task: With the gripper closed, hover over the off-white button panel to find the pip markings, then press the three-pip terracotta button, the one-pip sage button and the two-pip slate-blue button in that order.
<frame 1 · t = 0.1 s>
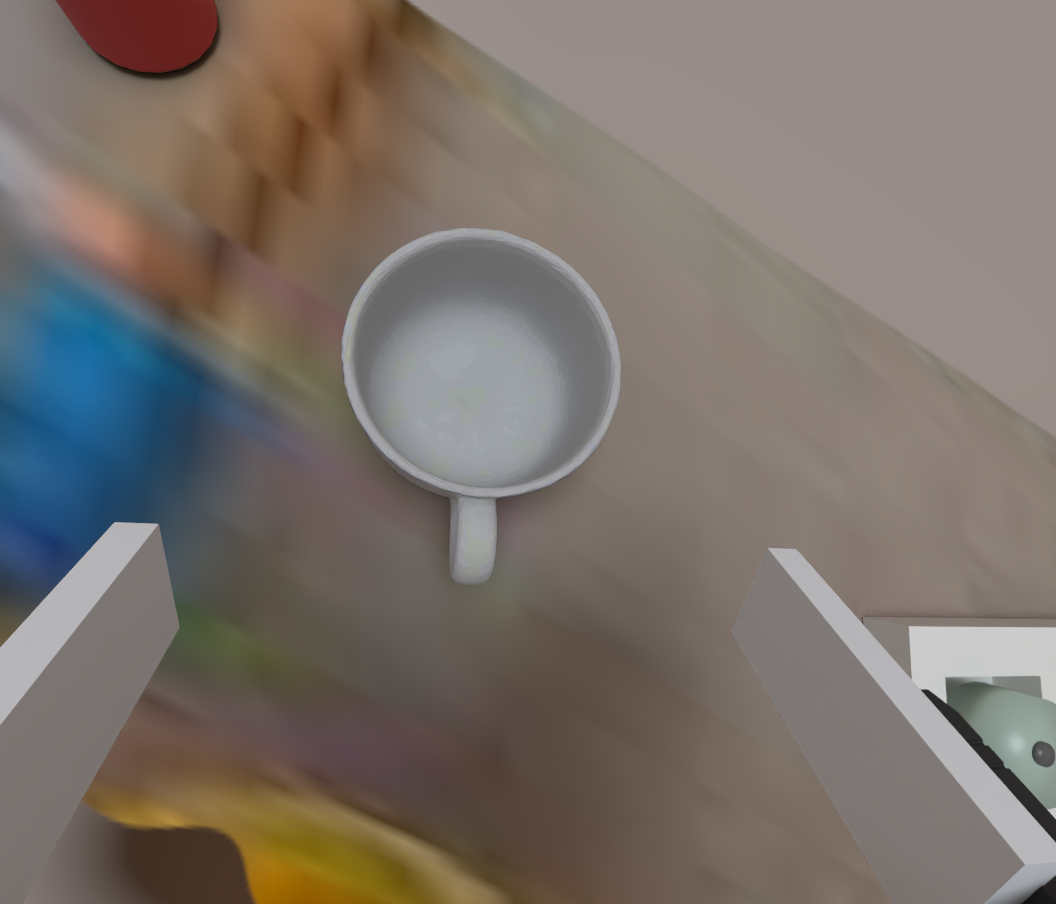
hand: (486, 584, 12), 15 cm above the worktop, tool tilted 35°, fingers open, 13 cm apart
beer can: (154, 26, 28), on the worktop
one pip button: (1010, 741, 27), point 4 cm above the worktop, slide at 0.0 cm
teacup: (464, 432, 28), on the worktop
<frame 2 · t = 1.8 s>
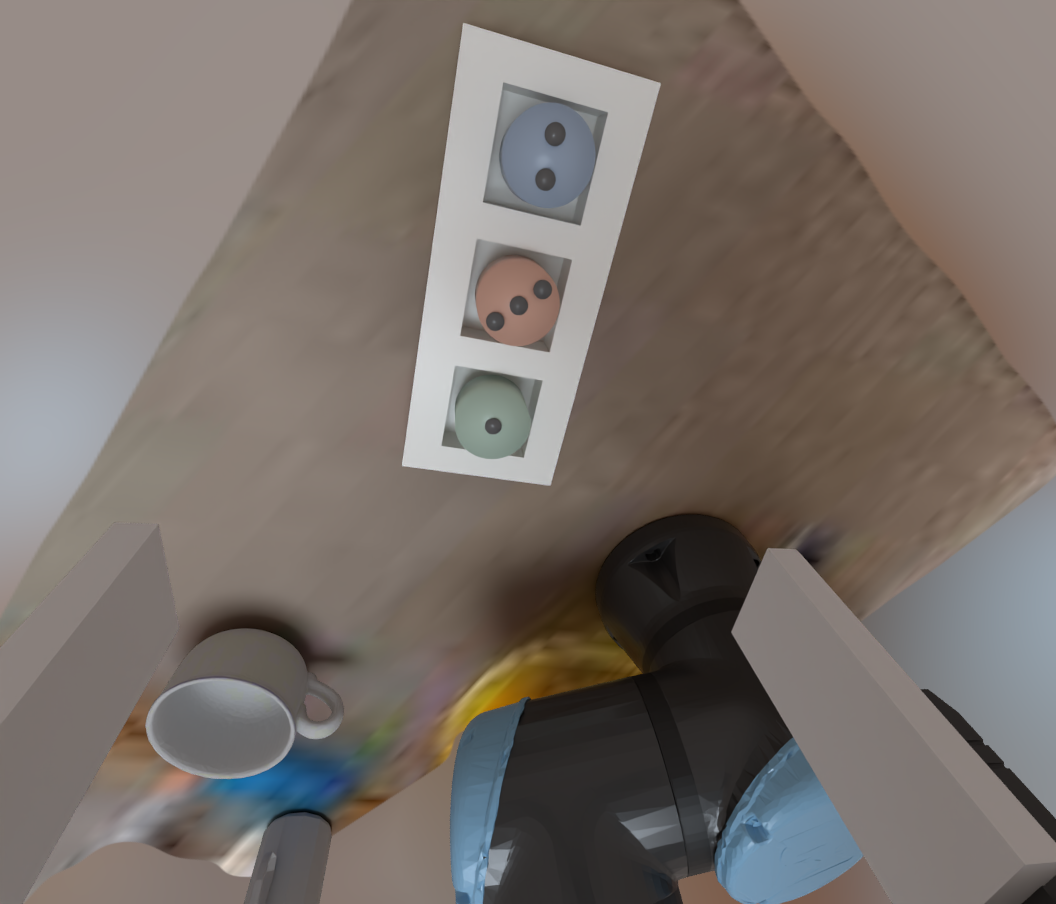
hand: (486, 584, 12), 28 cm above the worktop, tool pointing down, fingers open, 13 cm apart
one pip button: (491, 417, 37), point 4 cm above the worktop, slide at 0.0 cm
three pip button: (516, 300, 34), point 4 cm above the worktop, slide at 0.0 cm
two pip button: (545, 158, 31), point 4 cm above the worktop, slide at 0.0 cm
button panel: (510, 289, 37), on the worktop
water bottle: (297, 820, 60), on the worktop
teacup: (273, 655, 49), on the worktop
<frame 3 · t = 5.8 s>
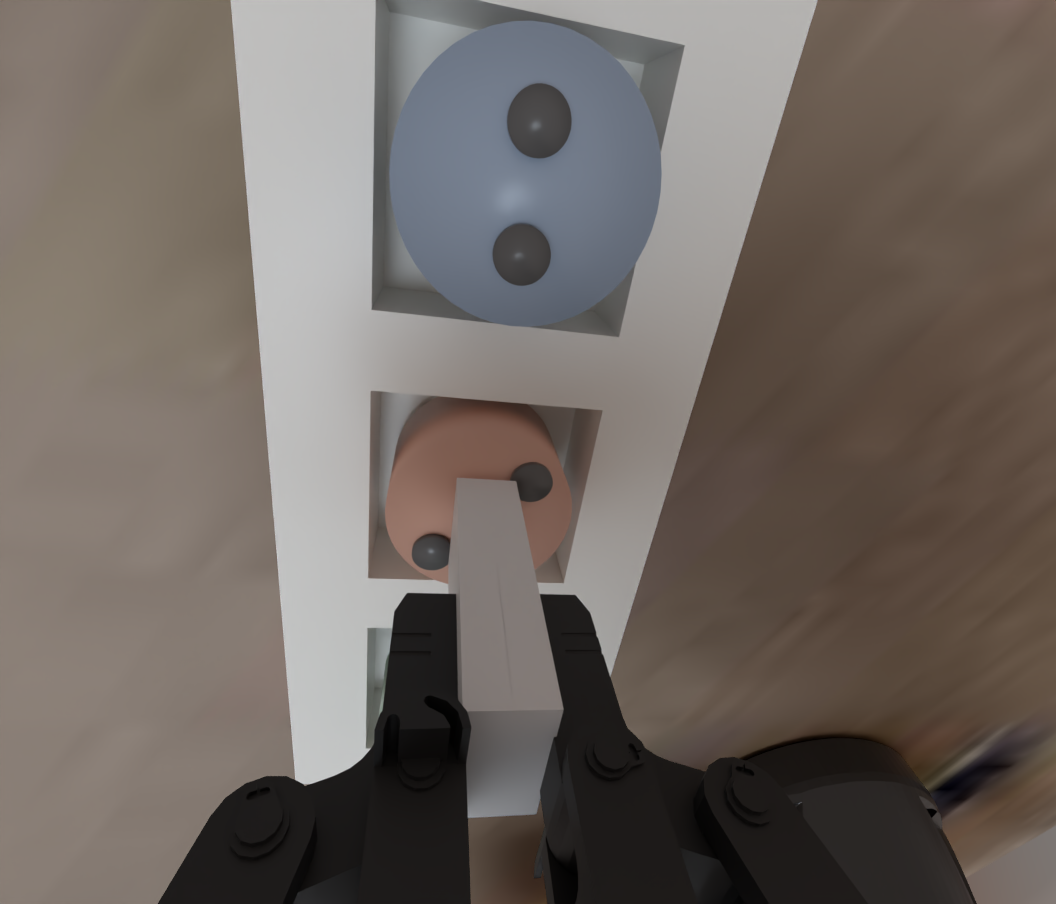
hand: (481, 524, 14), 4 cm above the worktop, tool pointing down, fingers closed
one pip button: (455, 706, 18), point 4 cm above the worktop, slide at 0.0 cm
three pip button: (478, 488, 16), point 2 cm above the worktop, slide at 1.2 cm, touching gripper
two pip button: (520, 188, 11), point 4 cm above the worktop, slide at 0.0 cm
button panel: (474, 449, 18), on the worktop
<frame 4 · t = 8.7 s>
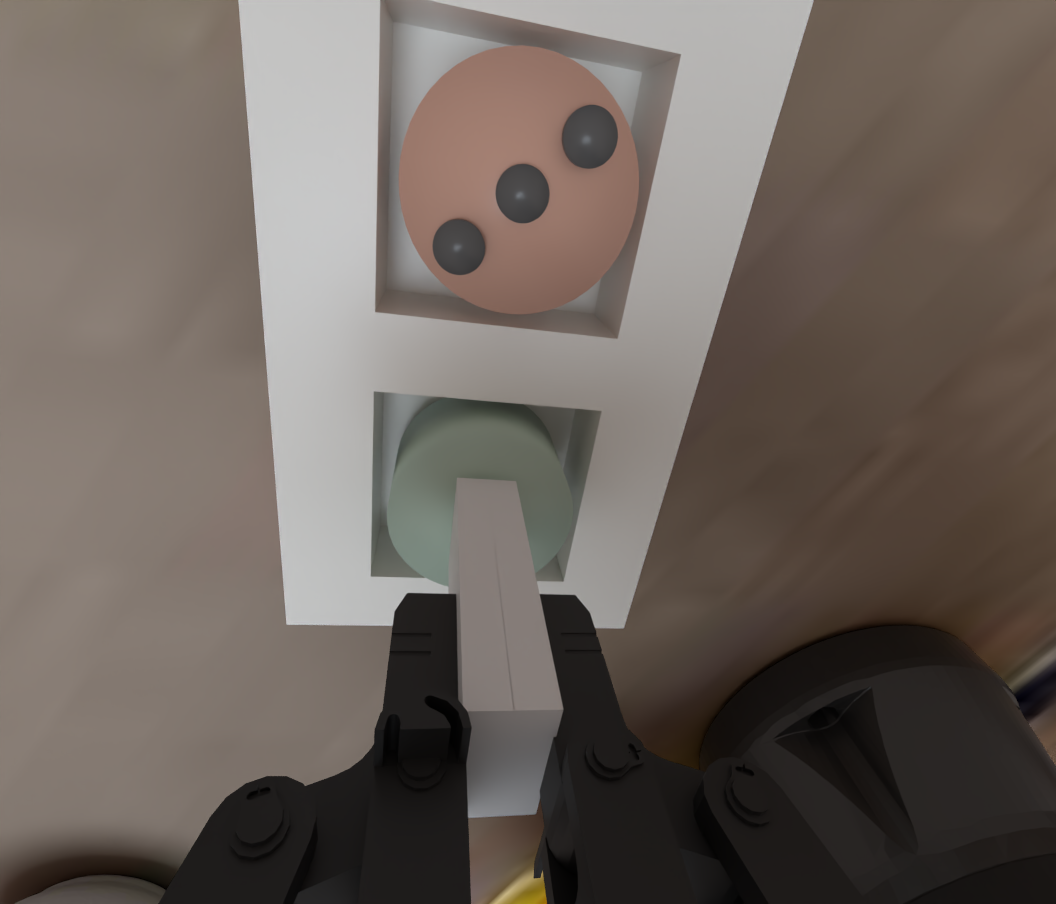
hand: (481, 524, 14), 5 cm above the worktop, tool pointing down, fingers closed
one pip button: (479, 491, 16), point 3 cm above the worktop, slide at 1.0 cm, touching gripper
three pip button: (514, 190, 13), point 2 cm above the worktop, slide at 1.2 cm
button panel: (505, 186, 15), on the worktop
teacup: (145, 900, 29), on the worktop
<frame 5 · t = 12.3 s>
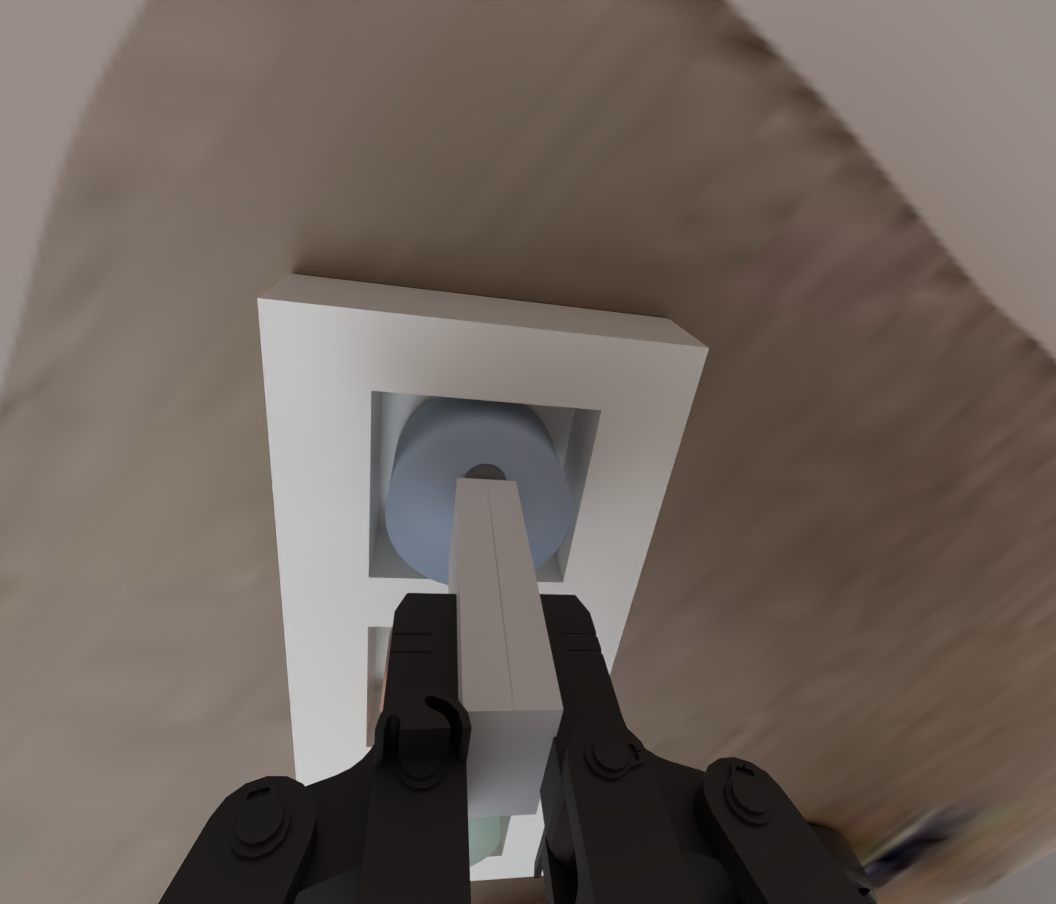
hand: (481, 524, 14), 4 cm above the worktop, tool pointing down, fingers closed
one pip button: (439, 806, 23), point 2 cm above the worktop, slide at 1.2 cm
three pip button: (455, 676, 20), point 2 cm above the worktop, slide at 1.2 cm
two pip button: (478, 489, 16), point 3 cm above the worktop, slide at 1.1 cm, touching gripper
button panel: (454, 626, 22), on the worktop
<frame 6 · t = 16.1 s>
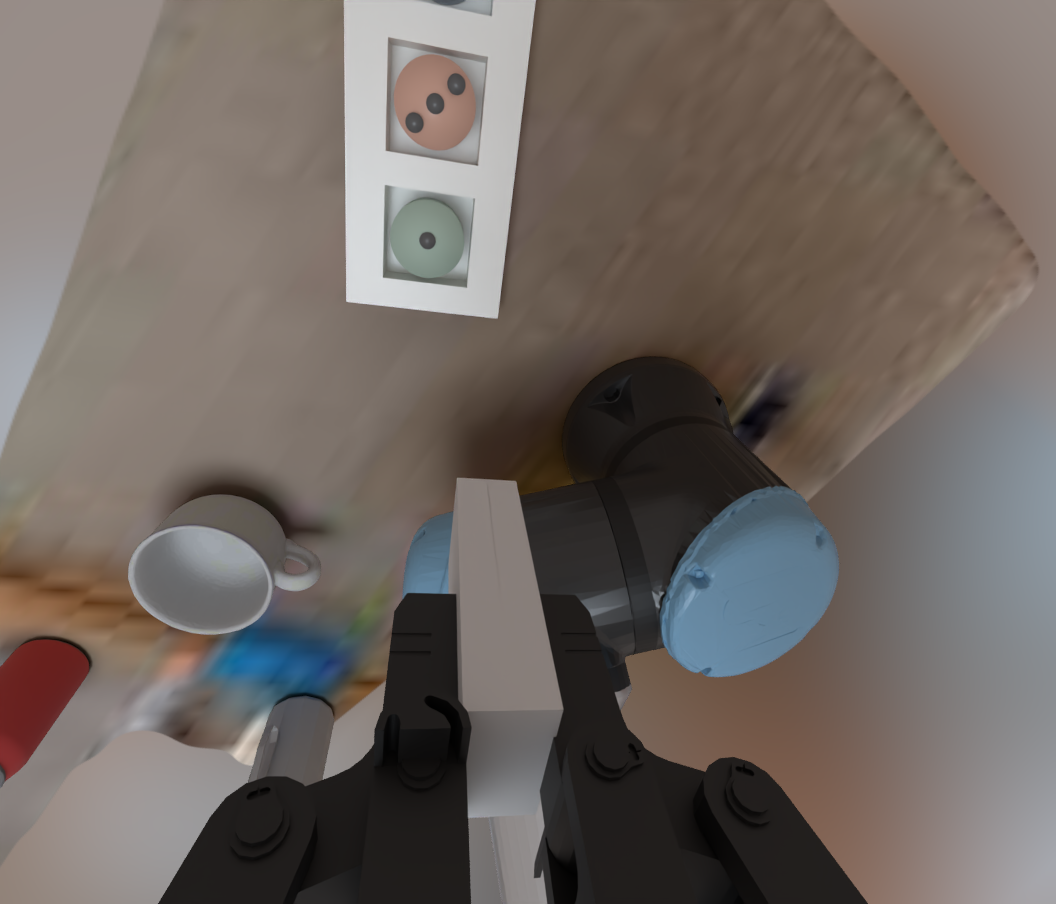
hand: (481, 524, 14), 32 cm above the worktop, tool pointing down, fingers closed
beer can: (56, 657, 55), on the worktop
one pip button: (428, 237, 39), point 2 cm above the worktop, slide at 1.2 cm
three pip button: (435, 105, 35), point 2 cm above the worktop, slide at 1.2 cm
button panel: (436, 108, 37), on the worktop
water bottle: (300, 706, 63), on the worktop
teacup: (254, 528, 51), on the worktop
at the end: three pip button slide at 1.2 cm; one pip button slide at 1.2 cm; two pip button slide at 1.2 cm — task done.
